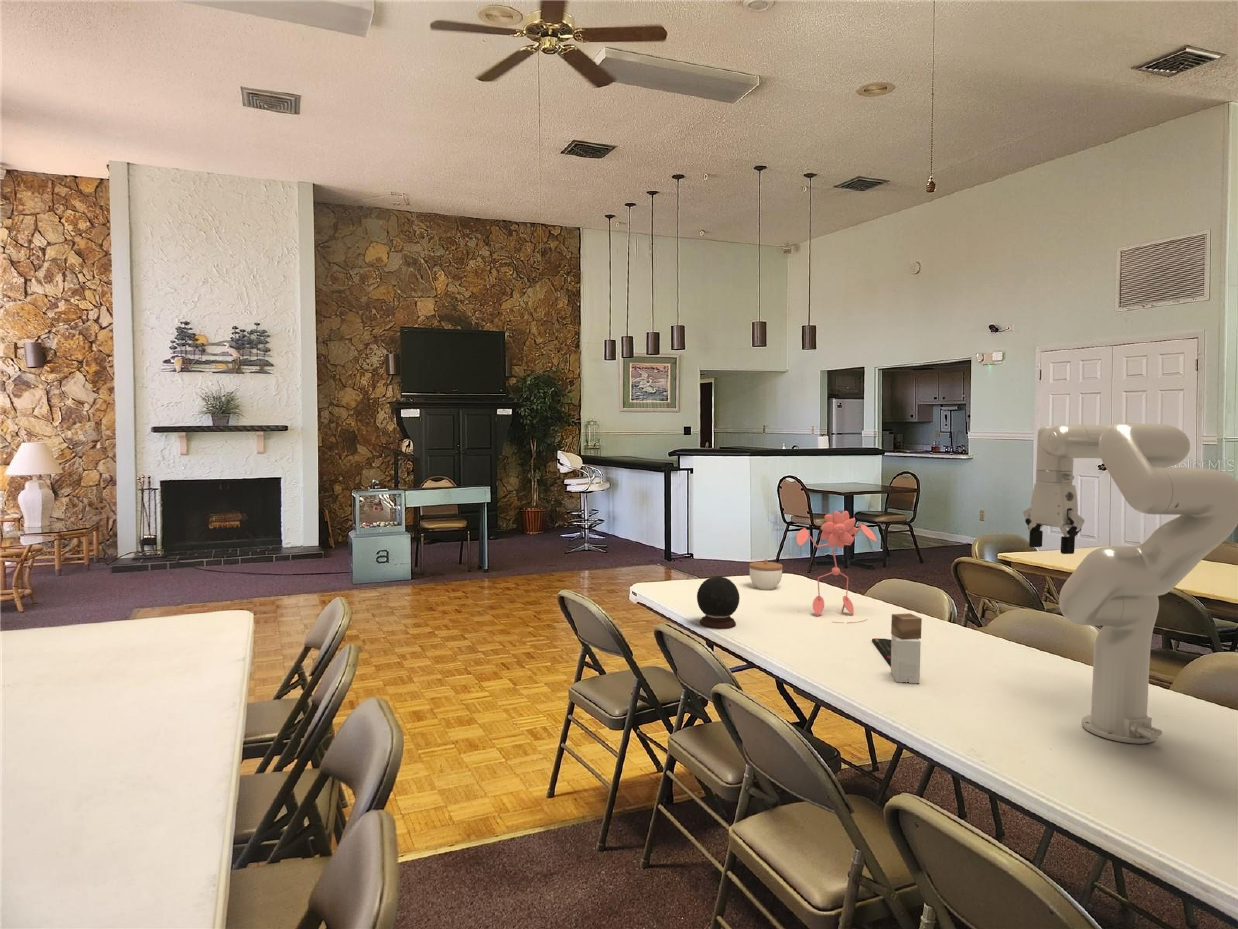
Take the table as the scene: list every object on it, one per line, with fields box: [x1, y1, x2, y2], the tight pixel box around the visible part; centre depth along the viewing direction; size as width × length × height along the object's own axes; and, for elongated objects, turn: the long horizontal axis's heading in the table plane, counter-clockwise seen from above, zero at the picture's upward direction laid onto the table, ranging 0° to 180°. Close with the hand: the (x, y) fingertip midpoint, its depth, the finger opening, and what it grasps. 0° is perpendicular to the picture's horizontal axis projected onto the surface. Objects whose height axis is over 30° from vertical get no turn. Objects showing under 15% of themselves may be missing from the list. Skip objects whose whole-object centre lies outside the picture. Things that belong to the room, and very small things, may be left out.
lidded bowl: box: [748, 558, 784, 591], centre depth 289 cm, size 13×13×11 cm
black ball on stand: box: [696, 575, 740, 630], centre depth 235 cm, size 13×13×15 cm
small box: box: [890, 634, 922, 684], centre depth 186 cm, size 8×6×10 cm
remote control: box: [871, 637, 892, 667], centre depth 207 cm, size 5×24×1 cm, turn 173°
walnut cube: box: [890, 613, 923, 640], centre depth 186 cm, size 5×5×5 cm
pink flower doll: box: [796, 510, 878, 624], centre depth 245 cm, size 15×26×35 cm, turn 95°
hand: (1051, 550), depth 178 cm, fingers open, 9 cm apart
